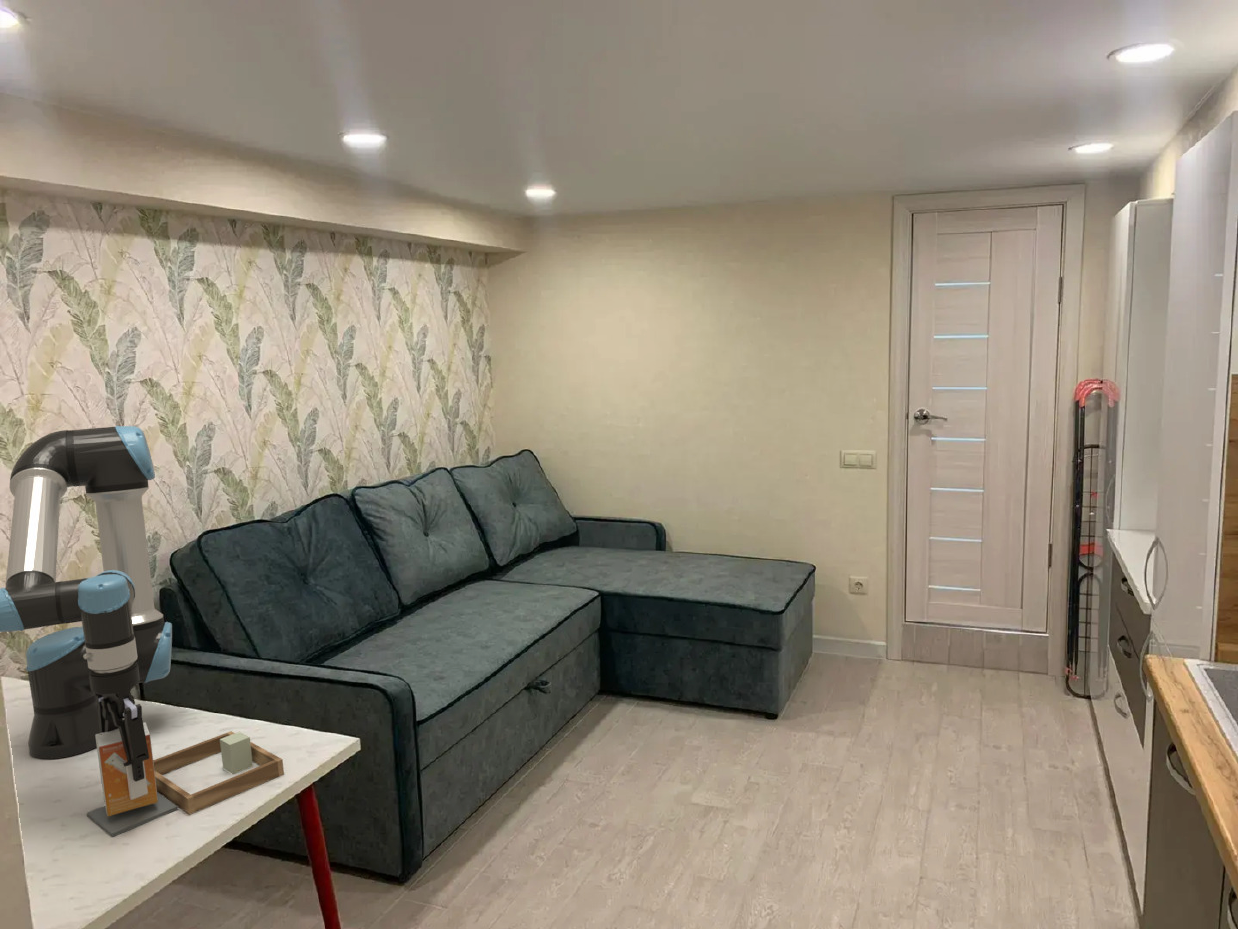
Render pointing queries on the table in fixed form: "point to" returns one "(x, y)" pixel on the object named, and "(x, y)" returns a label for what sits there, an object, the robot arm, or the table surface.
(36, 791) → the table surface
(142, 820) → the mat
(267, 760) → the bin
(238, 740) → the sage block
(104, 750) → the small box
